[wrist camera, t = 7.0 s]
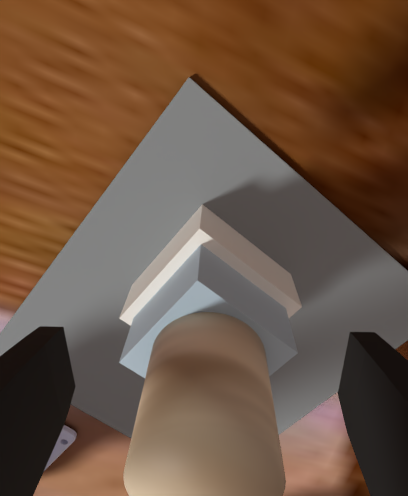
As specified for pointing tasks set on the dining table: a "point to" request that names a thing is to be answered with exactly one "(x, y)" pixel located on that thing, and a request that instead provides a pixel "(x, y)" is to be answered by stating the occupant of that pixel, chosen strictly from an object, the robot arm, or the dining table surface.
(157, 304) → the top block
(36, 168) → the dining table surface
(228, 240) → the base block
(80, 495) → the dining table surface
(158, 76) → the dining table surface
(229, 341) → the beech cylinder
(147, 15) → the dining table surface
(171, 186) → the slate mat
